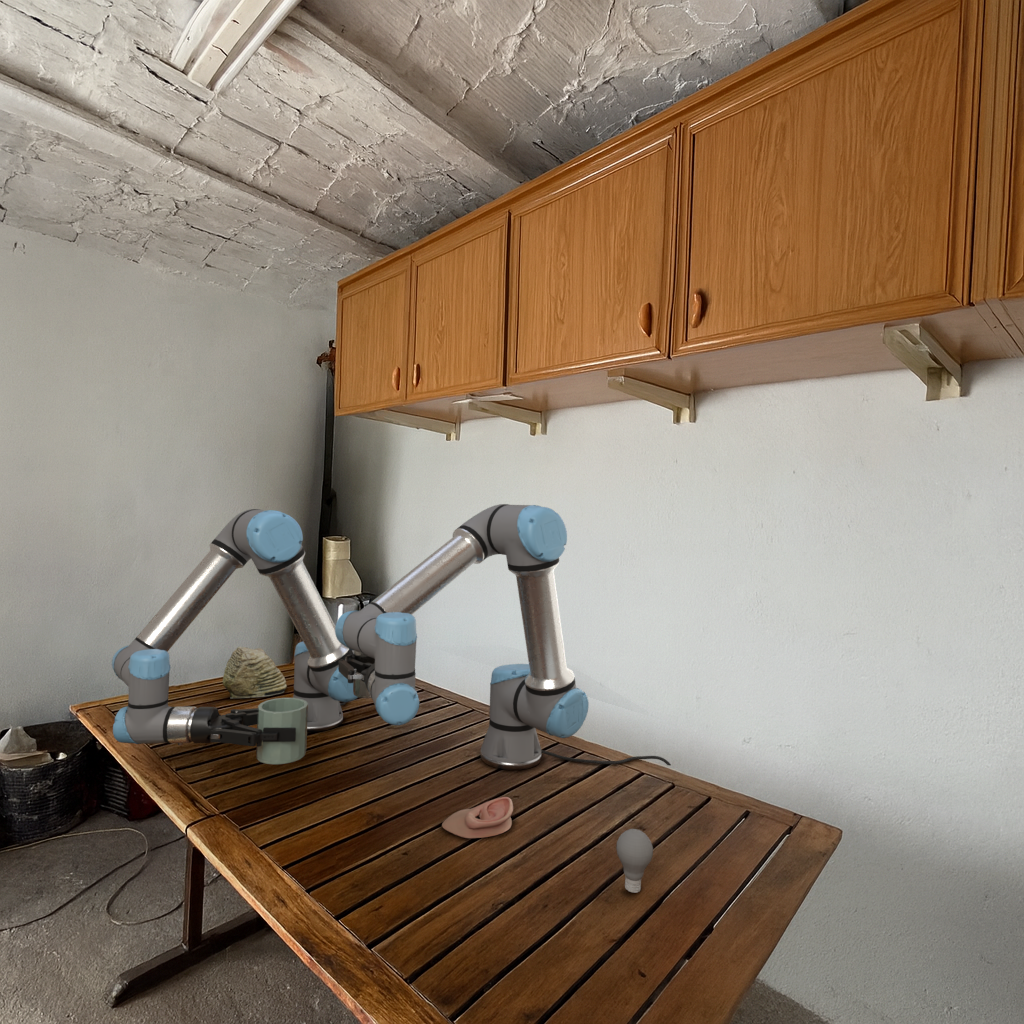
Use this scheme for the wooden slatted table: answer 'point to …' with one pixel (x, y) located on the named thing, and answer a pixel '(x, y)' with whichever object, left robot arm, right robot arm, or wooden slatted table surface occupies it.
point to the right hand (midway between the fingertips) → (369, 654)
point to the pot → (283, 716)
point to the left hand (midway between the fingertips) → (301, 725)
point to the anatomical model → (481, 819)
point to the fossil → (252, 674)
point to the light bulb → (634, 857)
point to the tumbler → (359, 685)
